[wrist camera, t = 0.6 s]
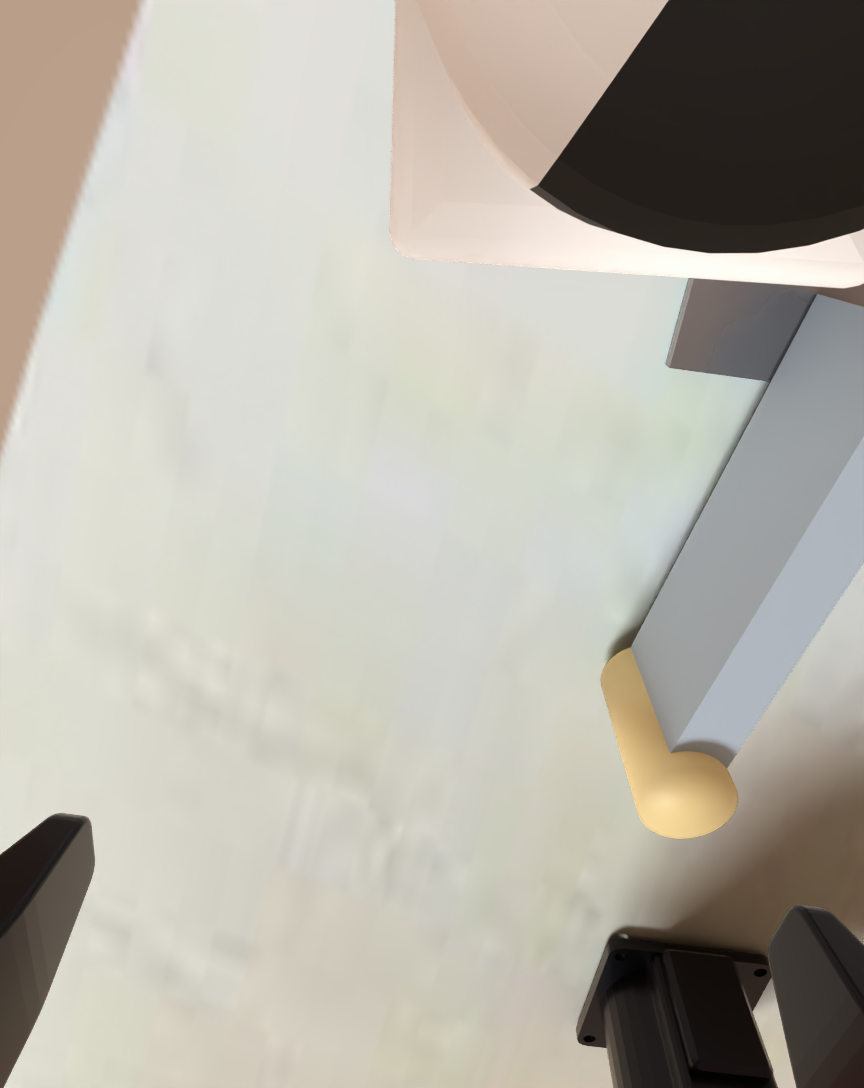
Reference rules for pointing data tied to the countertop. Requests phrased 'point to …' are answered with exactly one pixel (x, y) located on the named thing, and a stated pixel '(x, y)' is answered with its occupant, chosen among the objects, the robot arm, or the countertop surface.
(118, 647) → the countertop surface
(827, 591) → the gate
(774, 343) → the peg on base plate
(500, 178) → the medicine bottle
